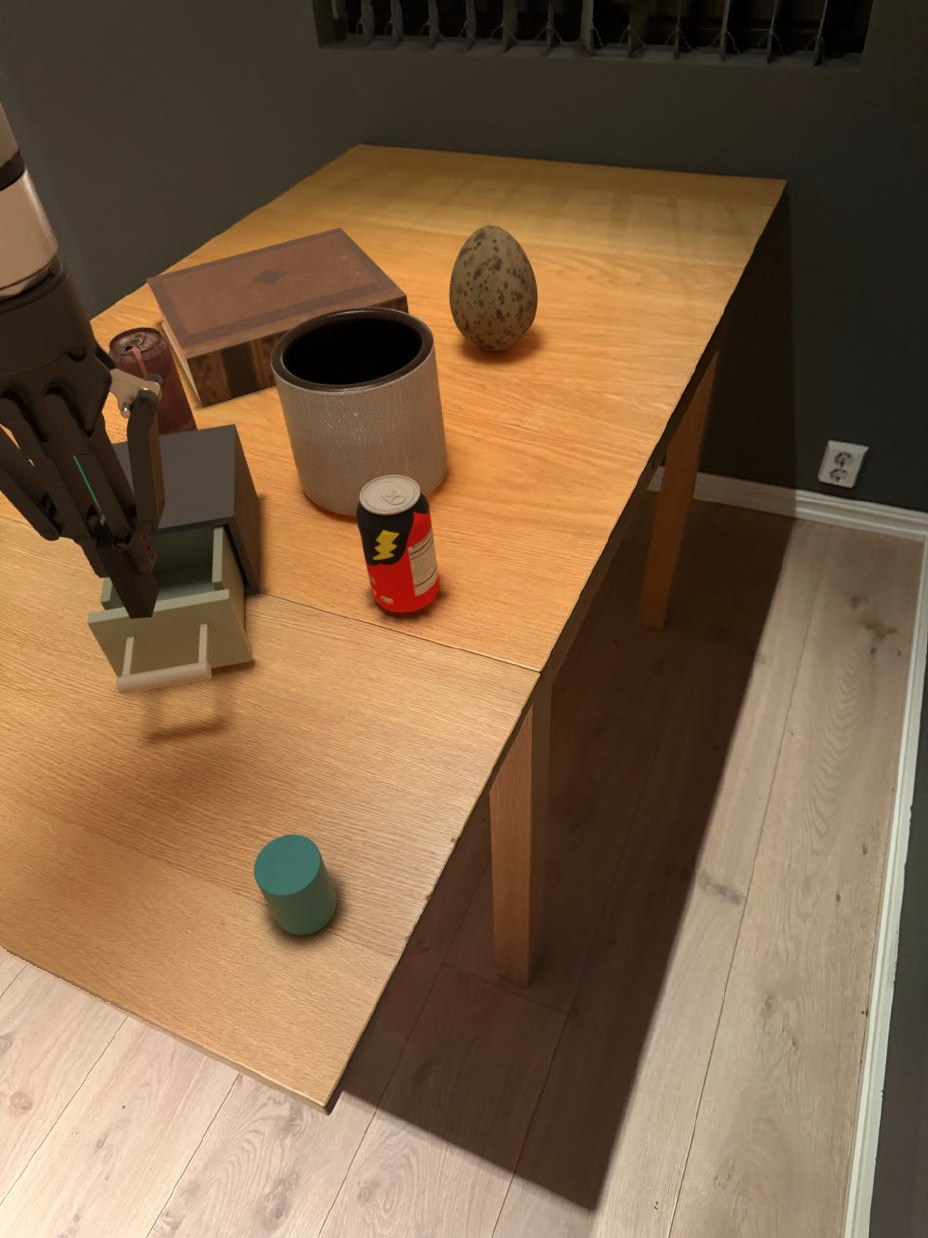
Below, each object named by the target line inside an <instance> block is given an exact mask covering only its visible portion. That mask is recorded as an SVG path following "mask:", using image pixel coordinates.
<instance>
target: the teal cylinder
mask: <svg viewBox="0 0 928 1238" xmlns="http://www.w3.org/2000/svg"><path fill="white" fill-rule="evenodd" d="M255 858H256V859H255V862H254V866H253V876H254V877H253V878H254V881H255V883H256V884H257V886H258V888H259V890H260V892H261V894H262V896H263V898H264V900H265V902H266V904H267V905H268V908H269V909H270V912H271V913H272V915H273V917H274V920H275V921H276V923H277V925H278V926H279V927H280V929H282V930H283V931H284V932H286V933H288V934H290V935H293V936H302V937H303V936H309V935H312V934H315V933H317V932H318V931H320V930H322V929H323V928H324V927H326V926H327V925H328V924H329V923H330V921H331V920H332V918H333V916H334V915H335V912H336V909H337V903H338V898H337V893H336V890H335V888H334V885H333V883H332V880H331V878H330V875H329V872H328V870H327V867H326V865H325V864H326V863H325V862H324V859H323V857H322V854H321V851H320V849H319V848H318V846H317V844H316V843H315V842H314V841H313V840H312V839H310V838H309V837H306V836H304V835H302V834H285V835H281V836H278V837H276V838H274V839H272V840H271V841H269V842H268V843H267V844H266V845H264V846H263V848H261V850H260V851H259V853H258V855H257V857H255Z"/></svg>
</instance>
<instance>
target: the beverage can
mask: <svg viewBox="0 0 928 1238" xmlns="http://www.w3.org/2000/svg"><path fill="white" fill-rule="evenodd" d="M355 519H356V524H357V528H358V531H359V532H358V533H359V539H360V543H361V547H362V551H363V556H364V561H365V565H366V570H367V576H368V581H369V584H370V585H369V586H370V589H371V590H370V591H371V594H372V597H373V599H374V600H375V602H376V603H377V604H378V605H379V606H381V607H382V608H384V609H385V610H387V611H390V612H394V613H412V612H415V611H419V610H421V609H423V608H425V607H426V606H428V605H430V604H431V602H432V601H433V600H434V599H435V598H436V596H437V595H438V593H439V590H440V576H439V568H438V561H437V554H436V553H437V552H436V546H435V539H434V538H435V537H434V530H433V523H432V515H431V508H430V503H429V501H428V498H427V497H425V496H424V495H423V494H422V493H421V492H420V488H419V485H418V484H417V483H416V482H415V481H414V480H413V479H411V478H409V477H406V476H401V475H387V476H382V477H379V478H376V479H374V480H372V481H370V482H369V483H367V484H366V485H365V486H364V487H363V489H362V490H361V492H360V502H359V504H358V506H357V510H356V516H355Z"/></svg>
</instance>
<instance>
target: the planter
mask: <svg viewBox="0 0 928 1238" xmlns="http://www.w3.org/2000/svg"><path fill="white" fill-rule="evenodd" d="M436 355H437V354H436V346H435V337H434V334H433V331H432V330H431V328H430V327H429V326H428V325H427V324H426V323H425V322H424V321H423V320H421V319H420V318H418V317H417V316H415V315H413V314H410V313H409V314H408V313H405V312H401V311H398V310H393V309H387V308H376V307H362V308H350V309H343V310H338V311H333V312H329V313H326V314H322V315H319V316H316V317H314V318H311V319H309V320H307V321H304V322H302V323H301V324H299V325H297V326H295V327H294V328H292V329H291V330H289V331H288V332H287V333H286V334H284V335H283V336H282V337H281V338H280V339H279V340H278V342H277V343H276V344H275V346H274V348H273V350H272V353H271V359H270V361H271V367H272V371H273V375H274V378H275V382H276V385H275V386H276V391H277V394H278V398H279V402H280V406H281V410H282V414H283V417H284V422H285V428H286V432H287V435H288V440H289V444H290V449H291V452H292V457H293V461H294V464H295V469H296V473H297V477H298V480H299V481H298V482H299V483H300V485H301V488H302V490H303V492H304V494H305V495H306V496H307V498H308V499H309V500H310V501H311V502H313V503H314V504H315V505H317V506H319V507H321V508H322V509H324V510H327V511H330V512H333V513H336V514H338V515H342V516H350V517H356V510H357V506H358V504H359V502H360V492H361V490H362V489H363V487H364V486H365V485H366V484H367V483H369V482H370V481H372V480H374V479H376V478H379V477H382V476H387V475H401V476H406V477H409V478H411V479H413V480H414V481H415V482H416V483H417V484H418V485H419V488H420V492H421V493H422V494H423V495H424V496H425V497H426V498H427V497H428V496H430V495H431V494H432V493H433V492H434V491H435V490H436V489H437V488H438V487H439V485H440V484H441V483H442V481H443V480H444V478H445V475H446V473H447V470H448V469H447V468H448V446H447V438H446V432H445V431H446V430H445V422H444V415H443V405H442V399H441V391H440V389H441V388H440V382H439V372H438V365H437V364H438V363H437V356H436Z"/></svg>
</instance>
